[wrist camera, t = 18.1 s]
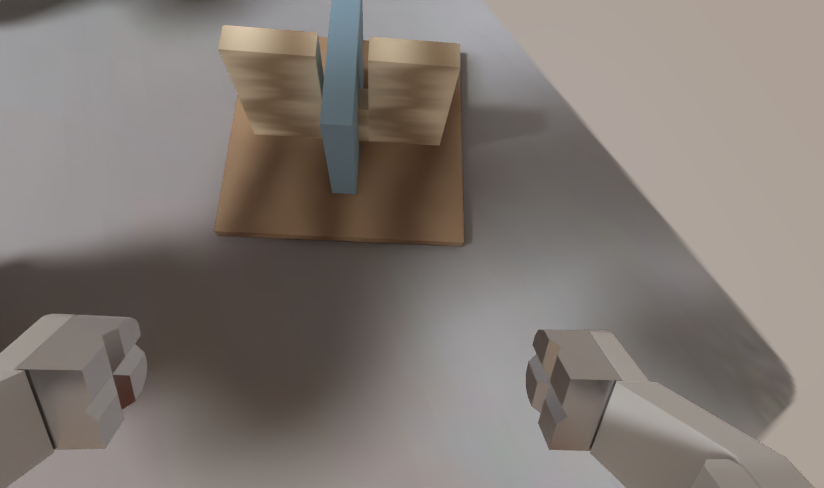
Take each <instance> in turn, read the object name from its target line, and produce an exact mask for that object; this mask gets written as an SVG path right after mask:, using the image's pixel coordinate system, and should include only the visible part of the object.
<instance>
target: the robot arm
mask: <svg viewBox="0 0 824 488" xmlns="http://www.w3.org/2000/svg"><path fill="white" fill-rule="evenodd" d="M140 336H141V332H140V328H139V324H138V321H137V320H135V319H134V318H132V317H118V316H97V315H75V314H49V315H45V316H42V317H41V318H40V319H39V320H38V321H37V322H35V323H34V324H33V325H32V326H31V327H30V328H29V329H27V330H26V331H25V332H24V333H23V334H22V335H20V336H19V337H18V338H17V339H16V340H15V341H14V342H12V343H11V344H10V345H9V346H8V347H7V348H6V349H4V350H3V351H2V352H1V353H0V488H6V487H8V486H9V485H10V484H12V483H13V482H14V481H16V480H17V479H19V478H20V477H21V476H23V475H24V474H25V473H27V472H28V471H29V470H31V469H32V468H34V467H35V466H36V465H38V464H39V463H40V462H42V461H43V460H44V459H46V458H47V457H49V456H50V455H51V454H53V453H54V450H68V449H105V448H106V447H107V445H108V444H109V442H110V441H111V439H112V437H113V436H114V434H115V433H116V431H117V430H118V428H119V427H120V425H121V423H122V422H123V420H124V417H123V413H122V409H124V408H125V407H127V406H129V405H130V404H132V403H133V402H135V401H136V400H137V398H138V396H139V395H140V393H141V391H142V390H143V387H144V383H145V380H146V376H147V360H146V355H145V353H144V352H143V351H142V350H141V349H140V348H139V347H138V346H137V345H136V344H135V343H136V342H137V340H138V339H139V337H140ZM533 347H534V349H535V351H536V355H535V356H534V357H533V358H532V359H531V360H530V361H528V366H527V371H526V390H527V394H528V398H529V401H530V403H531V406H532V407H533V408H535V409H536V410H537V411H538V412H540V413H541V414H540V418H539V422H538V424H539V426H540V428H541V431H542V433H543V436H544V438H545V441H546V443H547V446H548V448H549V450H577V451H591V452H590V453H591V454H592V455H593V456H594V457H595V458H596V459H597V460H598V461H599V462H600V463H601V464H602V465H603V466H604V467H605V468H606V469H607V470H608V471H609V472H611V473H612V474H613V475H614V476H615V477H616V478H617V479H618V480H619V481H620V482H621V483H622V484H623V485H624V486H625V487H626V488H814V487H813V486H812V485H811V484H810V483H809V481H808V480H807V479H806V478H805V477H804V476H803V475H802V474H801V473H800V472H799V471H798V470H797V469H796V467H794V465H793V464H792V463H791V462H790V461H789V460H788V459H787V458H786V457H784V456H783V455H781V454H779V453H777V452H776V451H774V450H772V449H771V448H769V447H767V446H765V445H764V444H762V443H760V442H759V441H757V440H755V439H754V438H752V437H750V436H748V435H747V434H745V433H743V432H742V431H740V430H738V429H736V428H735V427H733V426H731V425H730V424H728V423H726V422H724V421H723V420H721V419H719V418H718V417H716V416H714V415H713V414H711V413H709V412H707V411H706V410H704V409H702V408H701V407H699V406H697V405H695V404H694V403H692V402H690V401H689V400H687V399H685V398H683V397H682V396H680V395H678V394H677V393H675V392H673V391H671V390H670V389H668V388H666V387H665V386H663V385H661V384H660V383H658V382H649V381H648V379H647V378H646V377H645V375H644V374H643V373H642V371H641V370H640V369H639V367H638V366H637V365H636V363H635V362H634V361H633V360H632V358H631V357H630V356H629V354H628V353H627V352H626V350H625V349H624V348H623V346H622V345H621V344H620V342H619V341H618V340H617V338H616V337H615V336H614V334H613V333H612V332H610V331H608V330H538V331H537V333H536V335H535V338H534V341H533Z"/></svg>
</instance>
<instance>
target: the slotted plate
mask: <svg viewBox="0 0 824 488" xmlns="http://www.w3.org/2000/svg"><path fill="white" fill-rule="evenodd" d="M363 82H364V60H363V12H362V0H332V3H331V13H330V23H329V33H328V44H327V54H326V64H325V74H324V85H323V95H322V105H321V115H320V128H321V134H322V139H323V145H324V150H325V156H326V161H327V167H328V172H329V178H330V183H331V188H332V193H340V194H357V178H358V162H359V133H358V97H359V88H363Z"/></svg>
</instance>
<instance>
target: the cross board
mask: <svg viewBox="0 0 824 488" xmlns="http://www.w3.org/2000/svg"><path fill="white" fill-rule="evenodd" d="M327 44H328V38H326V37H318V33H316V32H304V31H291V30H278V29H265V28H252V27H240V26H227V25H223V27H222V32H221V37H220V42H219V47H218V50H219V52H220V55H221V57H222V59H223V62H224V64H225V66H226V69H227V71H228V73H229V76H230V78H231V80H232V83H233V85H234V87H235V89H236V92H237V94H238V95H237V101H236V106H235V112H234V118H233V124H232V130H231V135H230V141H229V147H228V153H227V159H226V164H225V170H224V176H223V182H222V188H221V193H220V199H219V205H218V211H217V217H216V222H215V228H214V232H215V233H216V234H217V235H218V236H240V237H263V238H285V239H308V240H330V241H353V242H375V243H398V244H420V245H443V246H462V245H463V243H464V220H463V175H462V129H461V84H460V44H457V43H444V42H432V41H419V40H406V39H393V38H380V37H369V41H365V40H363V60H364V82H363V88H359V97H358V133H359V162H358V178H357V194H340V193H332V188H331V183H330V178H329V172H328V167H327V161H326V156H325V150H324V145H323V139H322V134H321V128H320V115H321V105H322V95H323V85H324V74H325V64H326V54H327Z"/></svg>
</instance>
